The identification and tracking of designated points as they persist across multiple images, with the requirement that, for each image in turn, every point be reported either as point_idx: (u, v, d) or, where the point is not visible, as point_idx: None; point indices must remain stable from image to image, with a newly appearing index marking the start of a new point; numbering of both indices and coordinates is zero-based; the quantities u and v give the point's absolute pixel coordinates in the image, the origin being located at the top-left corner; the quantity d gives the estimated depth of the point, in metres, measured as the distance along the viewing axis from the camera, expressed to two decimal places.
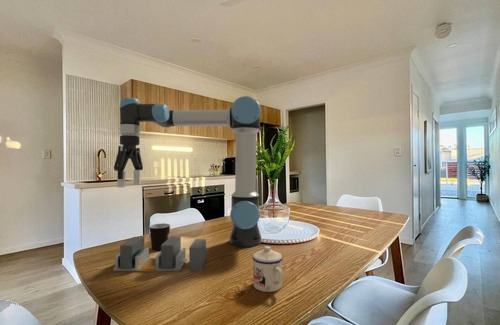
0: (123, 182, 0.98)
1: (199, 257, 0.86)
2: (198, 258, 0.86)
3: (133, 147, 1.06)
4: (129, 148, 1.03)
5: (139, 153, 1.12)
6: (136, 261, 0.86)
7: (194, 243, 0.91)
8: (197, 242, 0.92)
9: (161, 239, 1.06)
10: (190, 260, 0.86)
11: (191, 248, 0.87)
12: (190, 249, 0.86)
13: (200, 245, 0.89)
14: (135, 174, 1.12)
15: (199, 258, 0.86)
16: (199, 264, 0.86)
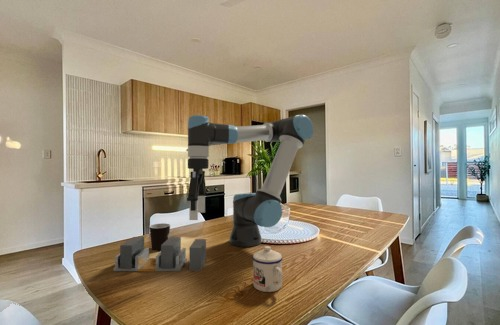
0: (196, 214, 0.84)
1: (199, 257, 0.87)
2: (198, 258, 0.87)
3: (201, 171, 0.93)
4: (199, 173, 0.89)
5: (204, 177, 0.98)
6: (136, 261, 0.86)
7: (194, 243, 0.91)
8: (197, 242, 0.92)
9: (161, 239, 1.06)
10: (190, 260, 0.87)
11: (191, 248, 0.87)
12: (190, 249, 0.87)
13: (200, 245, 0.89)
14: (199, 200, 0.98)
15: (199, 258, 0.87)
16: (199, 264, 0.86)
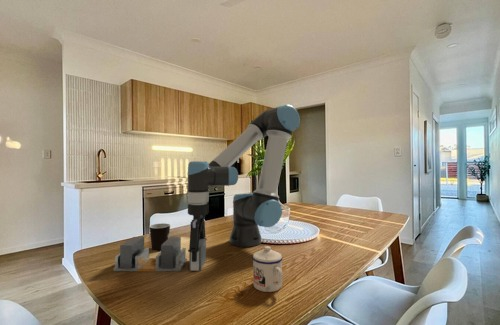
0: (197, 265, 0.86)
1: (199, 257, 0.86)
2: None
3: (201, 216, 0.93)
4: (199, 220, 0.89)
5: (204, 220, 0.98)
6: (136, 261, 0.86)
7: None
8: None
9: (161, 239, 1.06)
10: (190, 260, 0.86)
11: None
12: None
13: (200, 245, 0.89)
14: None
15: (199, 258, 0.86)
16: (199, 264, 0.86)
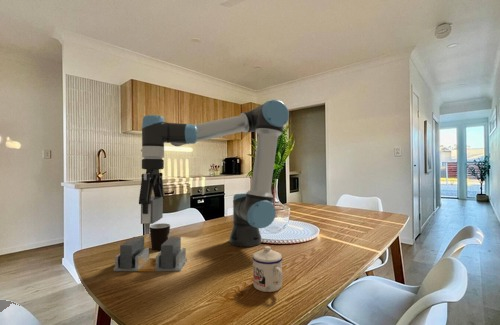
0: (148, 217, 0.85)
1: (151, 210, 0.86)
2: None
3: (156, 172, 0.92)
4: (153, 174, 0.88)
5: (161, 179, 0.97)
6: (136, 261, 0.86)
7: None
8: (152, 198, 0.91)
9: (161, 239, 1.06)
10: None
11: None
12: None
13: (153, 199, 0.88)
14: None
15: (151, 211, 0.86)
16: (151, 217, 0.86)
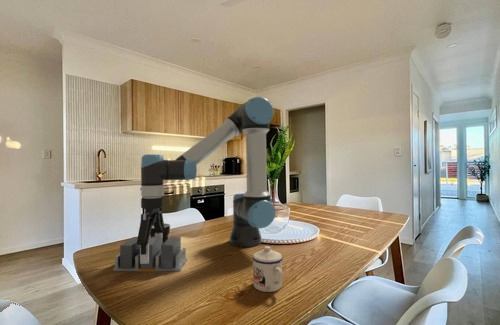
0: (147, 258, 0.84)
1: (150, 255, 0.85)
2: (149, 255, 0.85)
3: (156, 210, 0.92)
4: (152, 213, 0.88)
5: (161, 213, 0.97)
6: (136, 261, 0.86)
7: None
8: (152, 240, 0.91)
9: None
10: None
11: None
12: None
13: (153, 242, 0.88)
14: None
15: (150, 256, 0.85)
16: (150, 262, 0.85)
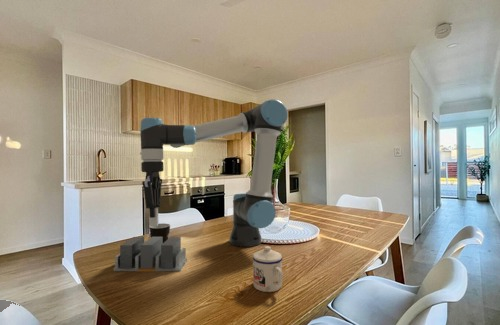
0: (155, 221, 0.90)
1: (150, 255, 0.85)
2: (149, 255, 0.85)
3: (156, 174, 0.92)
4: (153, 176, 0.88)
5: (160, 184, 0.96)
6: (136, 261, 0.86)
7: (147, 241, 0.90)
8: (152, 240, 0.91)
9: None
10: (141, 258, 0.85)
11: (142, 245, 0.86)
12: (141, 246, 0.85)
13: (153, 242, 0.88)
14: None
15: (150, 256, 0.85)
16: (150, 262, 0.85)
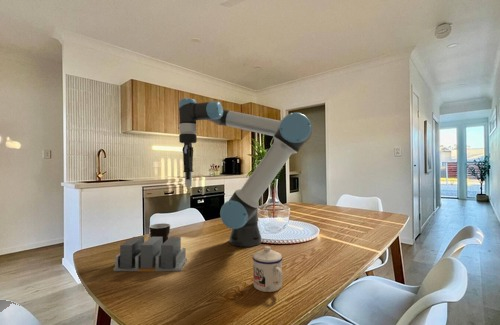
0: (190, 182, 1.11)
1: (150, 255, 0.85)
2: (149, 255, 0.85)
3: (191, 145, 1.13)
4: (189, 146, 1.09)
5: None
6: (136, 261, 0.86)
7: (147, 241, 0.90)
8: (152, 240, 0.91)
9: None
10: (141, 258, 0.85)
11: (142, 245, 0.86)
12: (141, 246, 0.85)
13: (153, 242, 0.88)
14: None
15: (150, 256, 0.85)
16: (150, 262, 0.85)
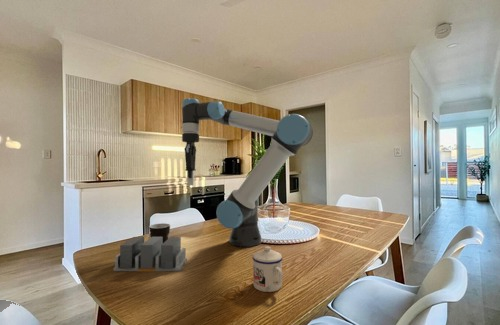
0: (192, 181, 1.13)
1: (150, 255, 0.85)
2: (149, 255, 0.85)
3: (193, 144, 1.15)
4: (191, 145, 1.11)
5: (195, 153, 1.19)
6: (136, 261, 0.86)
7: (147, 241, 0.90)
8: (152, 240, 0.91)
9: None
10: (141, 258, 0.85)
11: (142, 245, 0.86)
12: (141, 246, 0.85)
13: (153, 242, 0.88)
14: None
15: (150, 256, 0.85)
16: (150, 262, 0.85)
